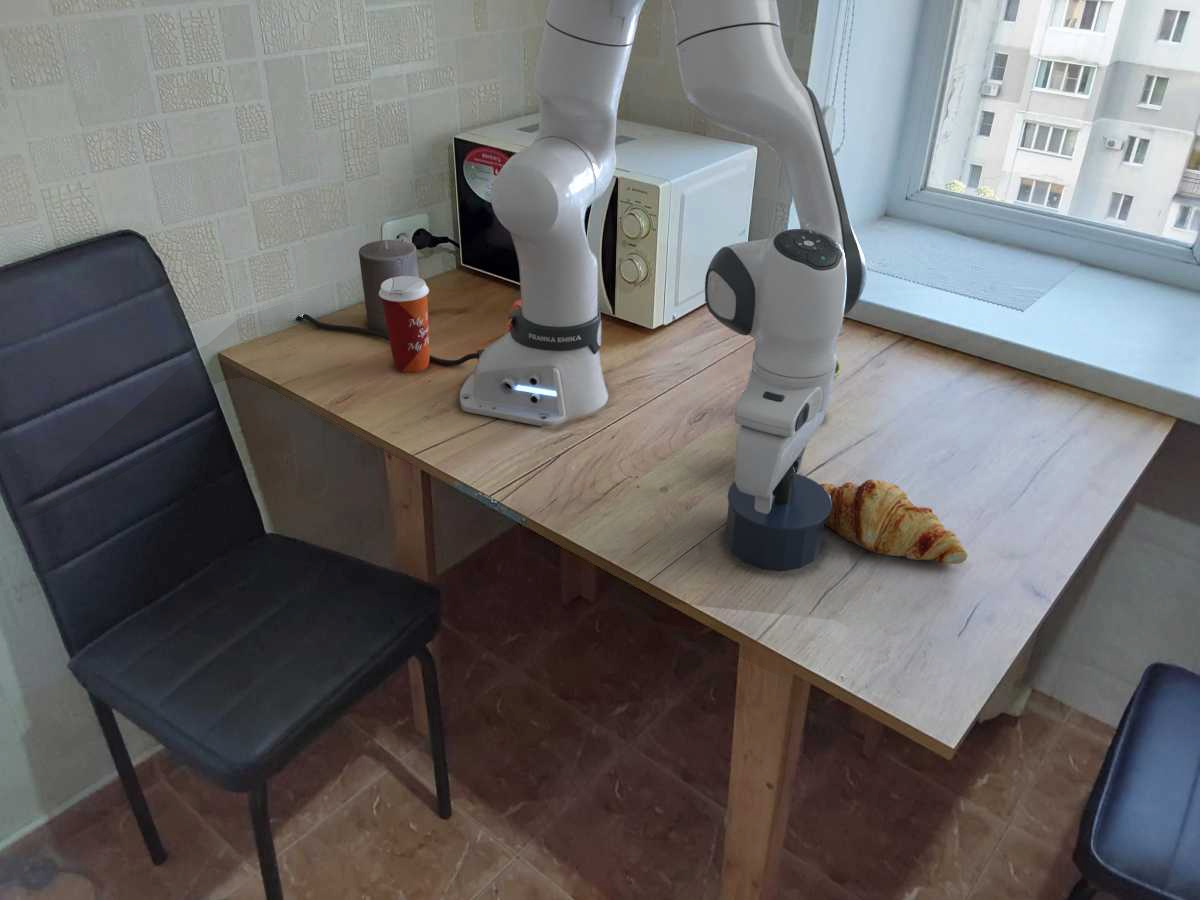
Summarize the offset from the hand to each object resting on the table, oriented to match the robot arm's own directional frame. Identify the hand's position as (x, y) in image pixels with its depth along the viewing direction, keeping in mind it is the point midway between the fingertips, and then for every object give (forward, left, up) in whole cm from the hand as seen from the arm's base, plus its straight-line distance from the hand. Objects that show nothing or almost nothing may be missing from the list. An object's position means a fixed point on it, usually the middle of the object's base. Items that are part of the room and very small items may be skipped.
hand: (778, 489), depth 112 cm
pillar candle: (-66, +54, -8) cm, 86 cm away
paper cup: (-58, +39, -8) cm, 70 cm away
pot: (0, 0, -8) cm, 8 cm away
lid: (0, 0, -2) cm, 2 cm away
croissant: (+13, +4, -8) cm, 16 cm away
